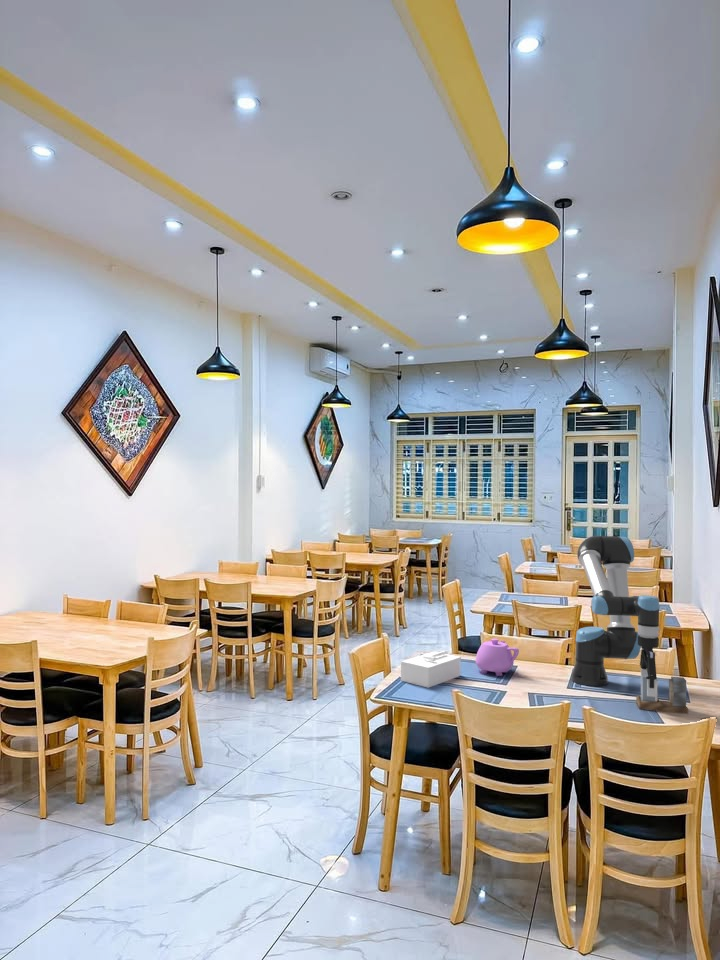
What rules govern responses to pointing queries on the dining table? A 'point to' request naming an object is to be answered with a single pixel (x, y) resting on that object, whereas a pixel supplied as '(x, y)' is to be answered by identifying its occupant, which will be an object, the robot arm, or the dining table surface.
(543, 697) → the dining table surface
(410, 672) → the tissue box
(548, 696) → the dining table surface
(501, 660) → the teapot
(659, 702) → the wooden condiment holder
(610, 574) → the robot arm
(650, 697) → the light grey block
